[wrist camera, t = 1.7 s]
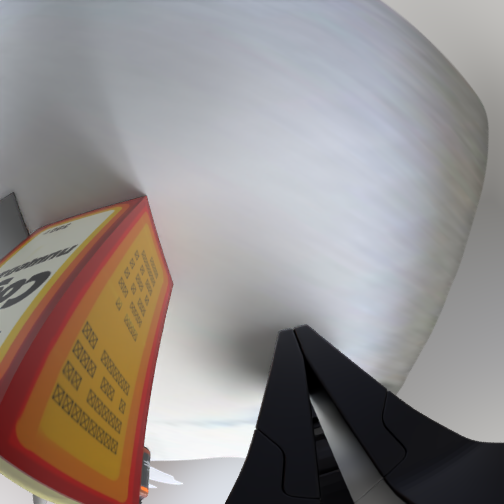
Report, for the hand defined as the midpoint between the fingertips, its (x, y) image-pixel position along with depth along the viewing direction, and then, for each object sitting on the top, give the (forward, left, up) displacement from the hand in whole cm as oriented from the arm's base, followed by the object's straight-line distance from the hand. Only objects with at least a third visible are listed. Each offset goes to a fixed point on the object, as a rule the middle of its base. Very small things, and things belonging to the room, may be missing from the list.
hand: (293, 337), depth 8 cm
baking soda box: (0, +11, -11) cm, 15 cm away
